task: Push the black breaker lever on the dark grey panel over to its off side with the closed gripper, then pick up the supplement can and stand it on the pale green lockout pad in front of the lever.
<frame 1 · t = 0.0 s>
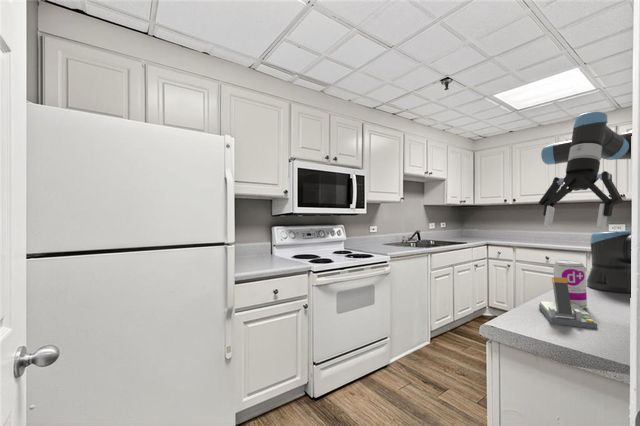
hand: (572, 226, 85), 28 cm above the counter, tool tilted 20°, fingers open, 13 cm apart
breaker lever: (561, 296, 84), point 7 cm above the counter, hinge at -20.0°
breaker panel: (565, 317, 86), on the counter
supplement can: (570, 306, 96), on the counter
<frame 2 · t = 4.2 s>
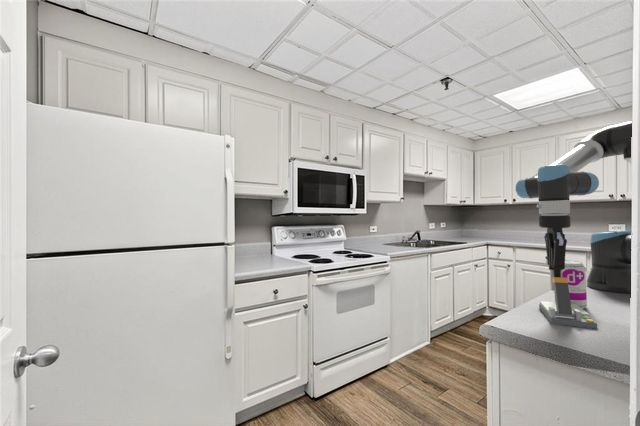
hand: (556, 290, 88), 8 cm above the counter, tool pointing down, fingers closed
breaker lever: (562, 296, 84), point 7 cm above the counter, hinge at -16.6°, touching gripper
everything else where it was.
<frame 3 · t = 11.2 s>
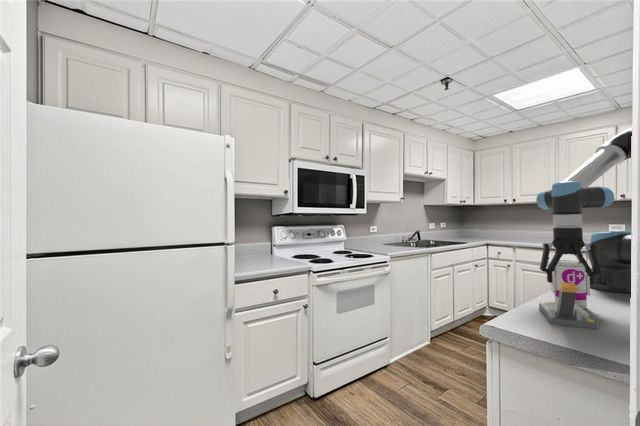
hand: (569, 293, 96), 4 cm above the counter, tool pointing down, fingers closed on supplement can, 8 cm apart
breaker lever: (566, 301, 81), point 7 cm above the counter, hinge at 24.2°
supplement can: (570, 306, 96), on the counter, touching gripper
when the fingers open (8 cm above the counter, at t = 16.7 s): supplement can drops 1 cm, resting on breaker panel.
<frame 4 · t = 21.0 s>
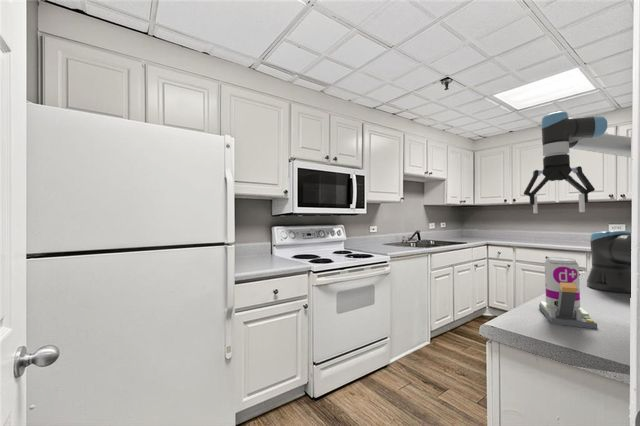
hand: (558, 212, 104), 32 cm above the counter, tool pointing down, fingers open, 13 cm apart
supplement can: (562, 307, 88), point 2 cm above the counter, touching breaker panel
everything else where it was.
at the end: breaker lever at +24° (first picture: -20°); supplement can inside the target area (0.3 cm from its centre), point 2.3 cm above the counter; supplement can tilted 0° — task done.
